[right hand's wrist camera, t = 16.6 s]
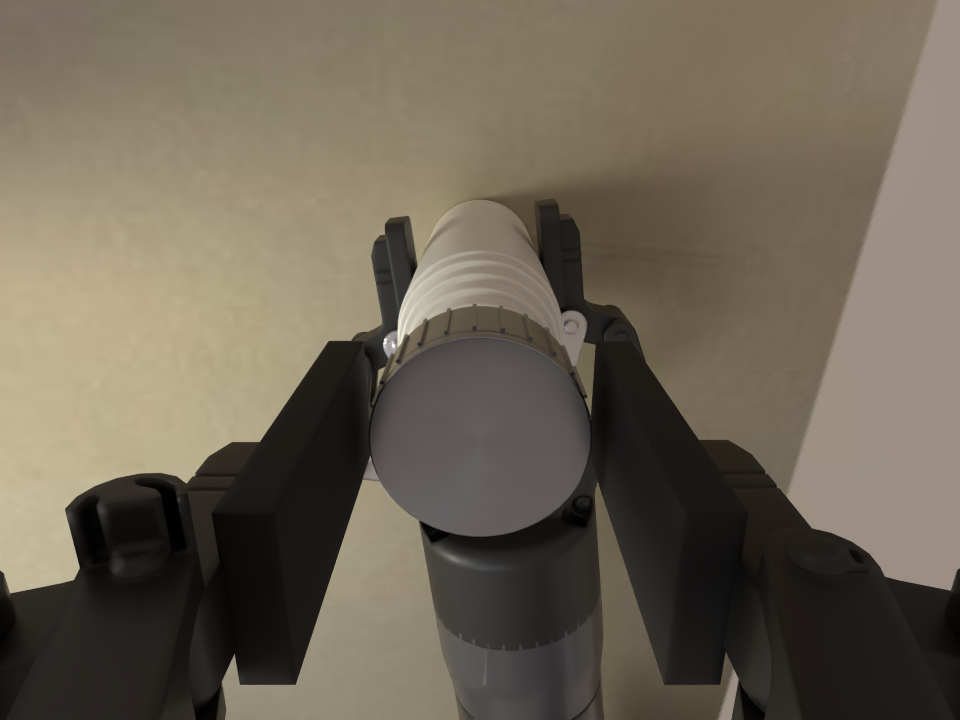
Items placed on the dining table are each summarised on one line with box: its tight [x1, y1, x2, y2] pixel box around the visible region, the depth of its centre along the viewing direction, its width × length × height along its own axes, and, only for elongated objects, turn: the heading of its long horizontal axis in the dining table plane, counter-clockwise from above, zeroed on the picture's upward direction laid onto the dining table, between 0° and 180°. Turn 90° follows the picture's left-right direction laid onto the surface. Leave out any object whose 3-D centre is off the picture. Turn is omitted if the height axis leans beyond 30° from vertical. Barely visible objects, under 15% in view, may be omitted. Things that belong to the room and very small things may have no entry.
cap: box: [368, 304, 592, 537], centre depth 13 cm, size 4×4×2 cm
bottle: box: [397, 200, 563, 347], centre depth 22 cm, size 5×5×19 cm
